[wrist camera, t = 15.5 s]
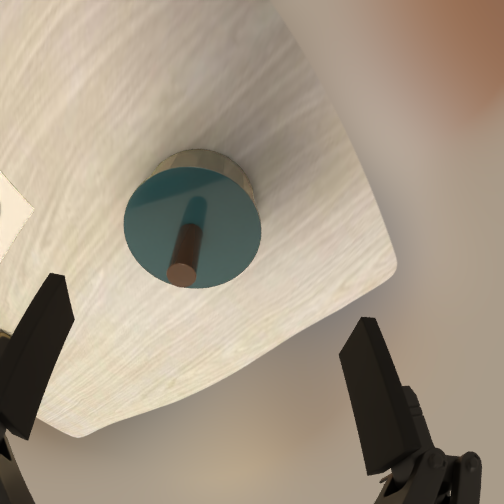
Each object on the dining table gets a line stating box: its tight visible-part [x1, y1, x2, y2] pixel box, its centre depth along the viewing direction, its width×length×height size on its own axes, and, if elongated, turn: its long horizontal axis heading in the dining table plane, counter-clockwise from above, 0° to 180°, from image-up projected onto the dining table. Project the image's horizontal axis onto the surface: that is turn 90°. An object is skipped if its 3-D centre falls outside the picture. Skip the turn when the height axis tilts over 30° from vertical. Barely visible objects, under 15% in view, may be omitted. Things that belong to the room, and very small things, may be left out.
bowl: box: [151, 149, 254, 201], centre depth 36 cm, size 14×14×8 cm
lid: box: [124, 165, 261, 288], centre depth 30 cm, size 15×15×8 cm
